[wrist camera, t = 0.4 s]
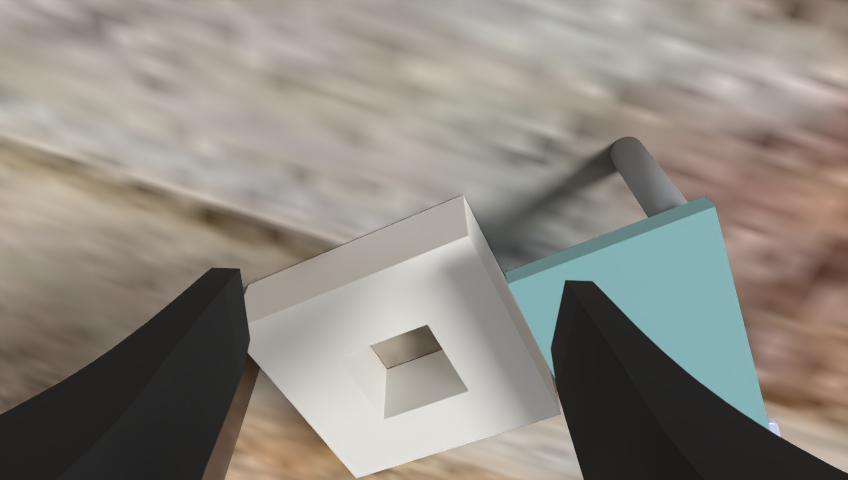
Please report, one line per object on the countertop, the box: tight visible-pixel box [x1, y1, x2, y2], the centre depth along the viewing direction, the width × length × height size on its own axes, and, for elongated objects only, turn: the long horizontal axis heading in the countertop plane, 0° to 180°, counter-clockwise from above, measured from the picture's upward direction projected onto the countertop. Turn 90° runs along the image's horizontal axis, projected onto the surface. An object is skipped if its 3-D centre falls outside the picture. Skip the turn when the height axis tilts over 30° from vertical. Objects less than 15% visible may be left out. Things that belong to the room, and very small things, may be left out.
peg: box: [202, 352, 260, 480], centre depth 24 cm, size 3×3×7 cm
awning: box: [505, 137, 770, 430], centre depth 22 cm, size 11×6×6 cm, turn 26°
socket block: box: [244, 195, 561, 478], centre depth 25 cm, size 10×10×3 cm
